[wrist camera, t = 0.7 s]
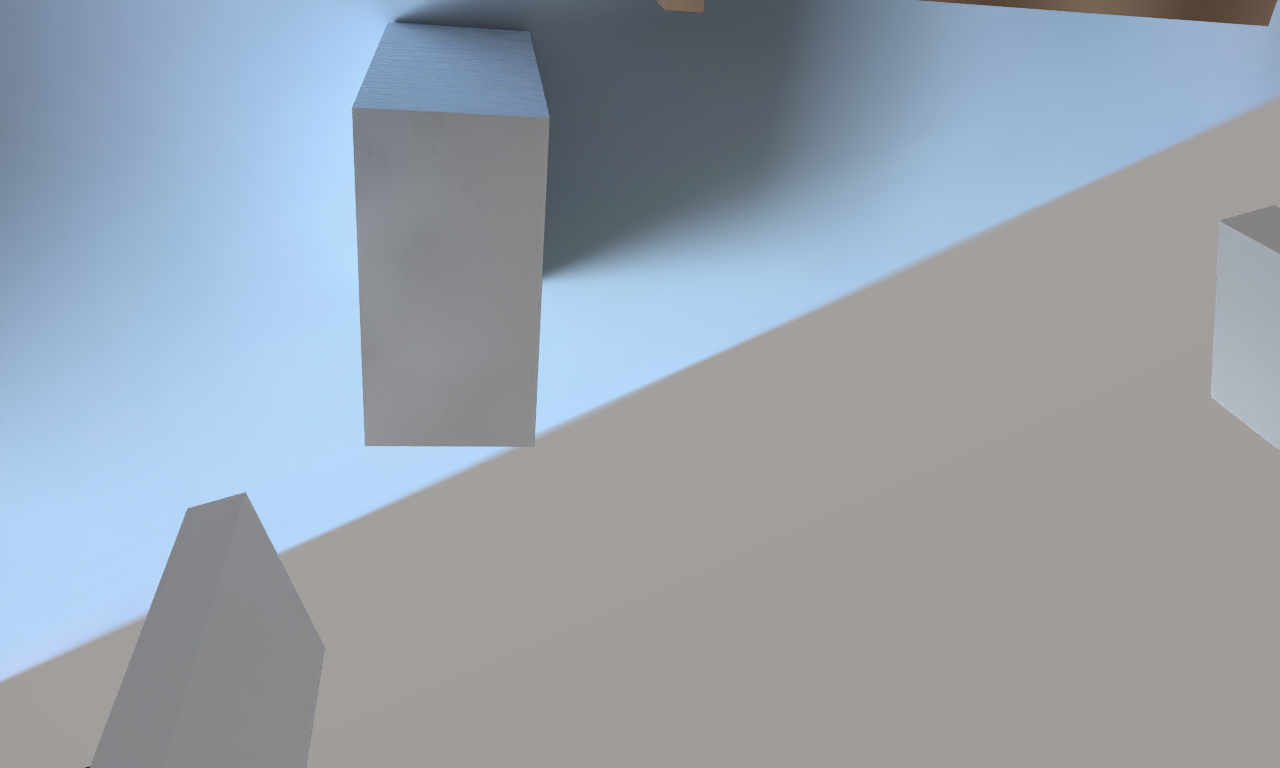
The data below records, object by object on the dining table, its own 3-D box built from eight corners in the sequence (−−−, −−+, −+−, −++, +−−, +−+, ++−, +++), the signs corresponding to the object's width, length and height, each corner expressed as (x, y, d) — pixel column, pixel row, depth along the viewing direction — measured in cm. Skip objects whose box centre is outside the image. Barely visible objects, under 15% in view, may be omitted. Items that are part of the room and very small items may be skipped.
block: (394, 283, 34) (365, 446, 25) (388, 22, 30) (352, 107, 22) (520, 286, 35) (534, 446, 26) (529, 31, 31) (549, 117, 22)
